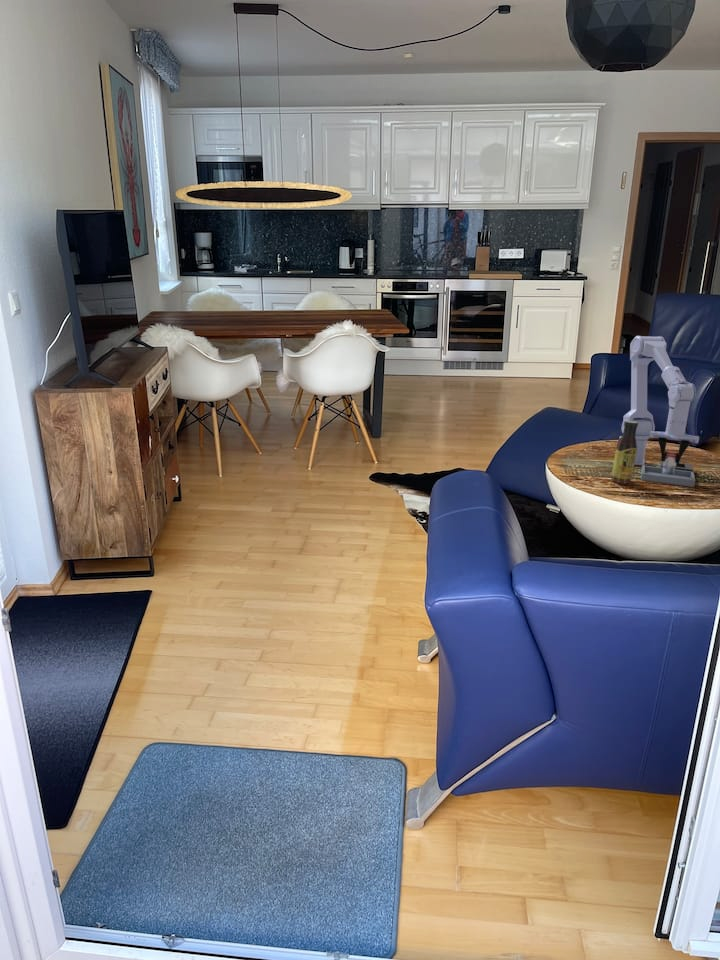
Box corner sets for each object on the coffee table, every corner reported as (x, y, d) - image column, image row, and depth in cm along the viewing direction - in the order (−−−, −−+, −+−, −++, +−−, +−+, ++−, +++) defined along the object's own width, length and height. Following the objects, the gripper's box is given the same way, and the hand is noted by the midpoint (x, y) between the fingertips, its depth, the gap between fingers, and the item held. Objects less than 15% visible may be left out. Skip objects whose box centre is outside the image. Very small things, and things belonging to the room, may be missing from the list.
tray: (640, 479, 236) (641, 473, 235) (641, 471, 246) (642, 465, 245) (694, 487, 231) (695, 480, 230) (692, 478, 241) (693, 471, 240)
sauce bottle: (621, 485, 229) (630, 424, 223) (606, 480, 234) (615, 420, 228) (635, 483, 232) (645, 423, 226) (620, 478, 237) (630, 418, 231)
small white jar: (661, 473, 237) (664, 453, 235) (661, 470, 240) (664, 450, 238) (674, 475, 235) (678, 454, 233) (674, 472, 239) (677, 451, 237)
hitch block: (659, 472, 245) (661, 465, 245) (659, 467, 252) (660, 460, 252) (691, 477, 242) (693, 469, 241) (690, 471, 249) (691, 464, 248)
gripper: (653, 420, 231) (646, 461, 235) (702, 426, 227) (694, 467, 231) (652, 416, 238) (646, 456, 242) (700, 421, 233) (693, 462, 237)
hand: (669, 461), depth 237 cm, fingers closed on small white jar, 4 cm apart
